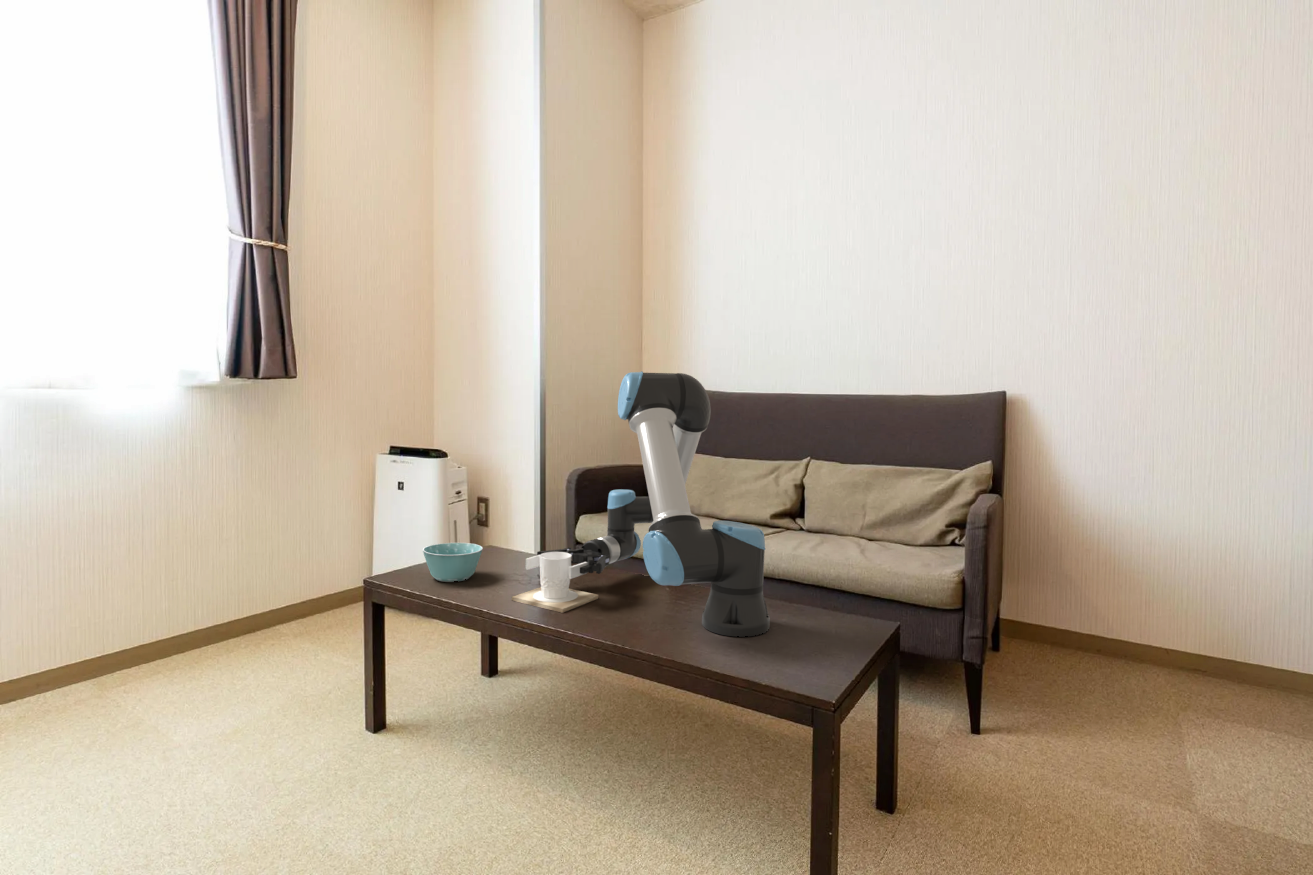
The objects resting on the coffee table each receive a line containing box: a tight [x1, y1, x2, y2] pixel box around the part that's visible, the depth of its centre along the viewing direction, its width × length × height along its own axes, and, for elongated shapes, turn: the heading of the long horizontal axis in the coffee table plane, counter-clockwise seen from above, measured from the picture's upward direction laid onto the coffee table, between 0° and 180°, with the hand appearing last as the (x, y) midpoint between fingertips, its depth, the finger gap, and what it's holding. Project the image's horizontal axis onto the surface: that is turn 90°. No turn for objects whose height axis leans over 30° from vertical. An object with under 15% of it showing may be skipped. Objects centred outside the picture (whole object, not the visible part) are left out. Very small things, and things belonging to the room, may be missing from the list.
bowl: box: [422, 542, 484, 583], centre depth 193 cm, size 16×16×8 cm
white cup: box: [539, 552, 572, 599], centre depth 176 cm, size 8×8×10 cm
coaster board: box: [511, 586, 599, 613], centre depth 176 cm, size 16×14×1 cm
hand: (547, 568), depth 173 cm, fingers open, 13 cm apart
